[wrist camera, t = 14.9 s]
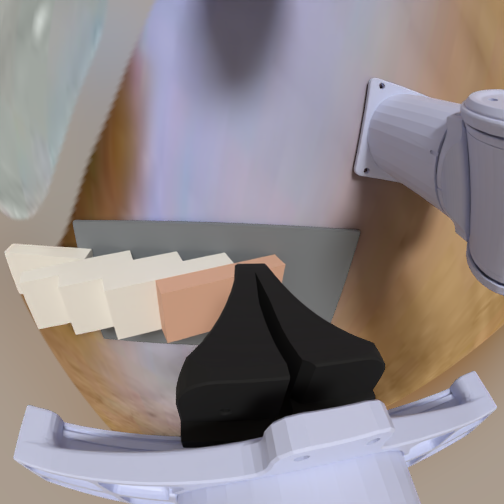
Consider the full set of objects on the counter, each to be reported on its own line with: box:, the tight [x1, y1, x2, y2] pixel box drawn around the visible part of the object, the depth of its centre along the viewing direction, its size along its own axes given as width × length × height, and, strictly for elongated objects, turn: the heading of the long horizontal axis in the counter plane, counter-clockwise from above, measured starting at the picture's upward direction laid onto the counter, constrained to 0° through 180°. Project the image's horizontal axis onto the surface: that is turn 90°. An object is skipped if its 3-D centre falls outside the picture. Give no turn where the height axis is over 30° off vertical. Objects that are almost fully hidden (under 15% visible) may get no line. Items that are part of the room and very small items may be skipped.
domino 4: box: [102, 253, 233, 340], centre depth 22 cm, size 2×5×10 cm
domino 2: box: [19, 250, 133, 329], centre depth 21 cm, size 2×5×10 cm
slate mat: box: [73, 220, 360, 345], centre depth 26 cm, size 24×14×1 cm, turn 85°
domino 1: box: [4, 244, 93, 294], centre depth 22 cm, size 2×5×10 cm
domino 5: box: [155, 254, 285, 343], centre depth 23 cm, size 2×5×10 cm
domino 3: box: [58, 251, 182, 335], centre depth 22 cm, size 2×5×10 cm
